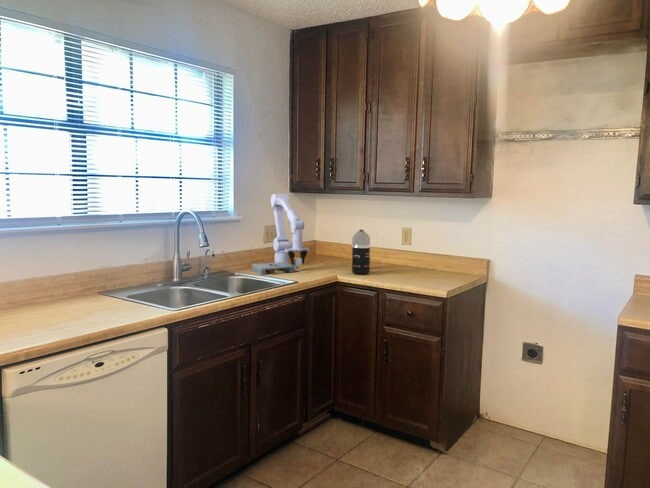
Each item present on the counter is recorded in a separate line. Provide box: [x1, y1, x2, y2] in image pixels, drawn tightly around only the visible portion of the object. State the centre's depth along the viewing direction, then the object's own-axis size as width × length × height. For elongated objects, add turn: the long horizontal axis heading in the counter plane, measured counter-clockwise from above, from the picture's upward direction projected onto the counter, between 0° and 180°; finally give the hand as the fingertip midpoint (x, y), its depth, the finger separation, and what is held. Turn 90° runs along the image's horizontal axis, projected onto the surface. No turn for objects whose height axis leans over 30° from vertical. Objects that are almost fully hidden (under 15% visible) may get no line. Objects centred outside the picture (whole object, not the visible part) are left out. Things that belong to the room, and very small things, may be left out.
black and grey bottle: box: [351, 229, 371, 276], centre depth 296 cm, size 10×10×25 cm
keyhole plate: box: [251, 262, 296, 276], centre depth 303 cm, size 16×20×4 cm
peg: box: [293, 257, 303, 272], centre depth 307 cm, size 4×4×7 cm
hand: (297, 264), depth 307 cm, fingers open, 5 cm apart
